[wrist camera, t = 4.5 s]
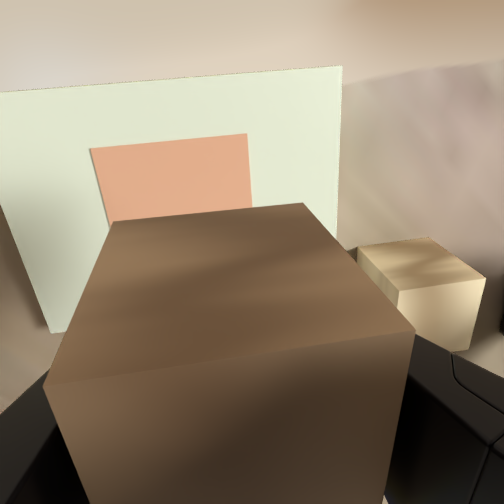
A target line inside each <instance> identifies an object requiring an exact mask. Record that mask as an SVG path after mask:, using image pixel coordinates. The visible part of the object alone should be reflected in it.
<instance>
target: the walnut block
mask: <svg viewBox="0 0 504 504" xmlns="http://www.w3.org/2000/svg"><path fill="white" fill-rule="evenodd" d="M415 333H416V329H415V328H414V327H413V326H412V325H411V323H410V322H409V321H408V320H407V319H406V318H405V317H404V316H403V314H402V313H401V312H400V311H399V310H398V309H397V308H396V307H395V305H394V304H393V303H392V302H391V301H390V300H389V299H388V298H387V296H386V295H385V294H384V293H383V292H382V291H381V290H380V289H379V287H378V286H377V285H376V284H375V283H374V282H373V281H372V280H371V278H370V277H369V276H368V275H367V274H366V273H365V272H364V271H363V269H362V268H361V267H360V266H359V265H358V264H357V263H356V262H355V260H354V259H353V258H352V257H351V256H350V255H349V254H348V253H347V251H346V250H345V249H344V248H343V247H342V246H341V245H340V244H339V242H338V241H337V240H336V239H335V238H334V237H333V236H332V235H331V233H330V232H329V231H328V230H327V229H326V228H325V227H324V226H323V224H322V223H321V222H320V221H319V220H318V219H317V218H316V217H315V215H314V214H313V213H312V212H311V211H310V210H309V209H308V207H307V206H306V205H305V204H304V203H303V202H302V203H292V204H282V205H272V206H262V207H252V208H242V209H232V210H222V211H212V212H202V213H192V214H182V215H172V216H162V217H152V218H142V219H132V220H122V221H113V223H112V225H111V228H110V230H109V232H108V235H107V237H106V239H105V242H104V244H103V246H102V249H101V251H100V253H99V256H98V258H97V260H96V263H95V265H94V267H93V270H92V272H91V274H90V277H89V279H88V281H87V284H86V286H85V288H84V291H83V293H82V295H81V298H80V300H79V302H78V305H77V307H76V309H75V312H74V314H73V316H72V319H71V321H70V323H69V326H68V328H67V330H66V333H65V335H64V338H63V340H62V342H61V345H60V347H59V349H58V352H57V354H56V356H55V359H54V361H53V363H52V366H51V368H50V370H49V373H48V375H47V377H46V380H45V382H44V384H43V389H44V391H45V394H46V396H47V399H48V401H49V404H50V406H51V409H52V411H53V414H54V416H55V419H56V421H57V423H58V426H59V428H60V431H61V433H62V436H63V438H64V441H65V443H66V446H67V448H68V450H69V453H70V455H71V458H72V460H73V463H74V465H75V468H76V470H77V473H78V475H79V477H80V480H81V482H82V485H83V487H84V490H85V492H86V495H87V497H88V500H89V502H90V504H382V501H383V496H384V491H385V486H386V481H387V476H388V471H389V465H390V460H391V455H392V450H393V445H394V440H395V435H396V430H397V425H398V420H399V414H400V409H401V404H402V399H403V394H404V389H405V384H406V379H407V374H408V368H409V363H410V358H411V353H412V348H413V343H414V338H415Z"/></svg>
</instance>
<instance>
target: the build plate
mask: <svg viewBox="0 0 504 504" xmlns="http://www.w3.org/2000/svg"><path fill="white" fill-rule="evenodd" d="M341 94H342V66H325V67H312V68H299V69H287V70H274V71H261V72H248V73H236V74H223V75H211V76H198V77H186V78H173V79H160V80H147V81H135V82H122V83H108V84H96V85H84V86H70V87H58V88H45V89H32V90H19V91H7V92H0V204H1V207H2V209H3V212H4V215H5V217H6V220H7V222H8V225H9V227H10V230H11V233H12V235H13V238H14V240H15V243H16V245H17V248H18V250H19V253H20V256H21V258H22V261H23V263H24V266H25V268H26V271H27V274H28V276H29V279H30V281H31V284H32V286H33V289H34V291H35V294H36V297H37V299H38V302H39V304H40V307H41V309H42V312H43V314H44V317H45V320H46V322H47V325H48V327H49V330H50V332H51V334H53V333H59V332H66V330H67V328H68V326H69V323H70V321H71V319H72V316H73V314H74V312H75V309H76V307H77V305H78V302H79V300H80V298H81V295H82V293H83V291H84V288H85V286H86V284H87V281H88V279H89V277H90V274H91V272H92V270H93V267H94V265H95V263H96V260H97V258H98V256H99V253H100V251H101V249H102V246H103V244H104V242H105V239H106V237H107V235H108V232H109V230H110V228H111V225H112V223H113V221H122V220H132V219H142V218H152V217H162V216H172V215H182V214H192V213H202V212H212V211H222V210H232V209H242V208H252V207H262V206H272V205H282V204H292V203H302V202H303V203H304V204H305V205H306V206H307V207H308V209H309V210H310V211H311V212H312V213H313V214H314V215H315V217H316V218H317V219H318V220H319V221H320V222H321V223H322V224H323V226H324V227H325V228H326V229H327V230H328V231H329V232H330V233H331V235H332V236H333V237H334V238H335V239H336V228H337V202H338V175H339V148H340V121H341Z"/></svg>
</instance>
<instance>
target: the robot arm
mask: <svg viewBox="0 0 504 504" xmlns="http://www.w3.org/2000/svg"><path fill="white" fill-rule="evenodd" d="M499 331H500V333H501V334H502V335H504V315H503V319H502V322H501V326H500V329H499ZM49 370H50V369H49ZM49 370H48V371H47V372H46V373H45V374H43V375H42V376H41V377H40V378H39V379H38V380H37V381H36V382H35V383H34V384H33V385H32V386H30V387H29V388H28V389H27V390H26V391H25V392H24V393H23V394H22V395H21V396H20V397H19V398H18V399H16V400H15V401H14V402H13V403H12V404H11V405H10V406H9V407H8V408H7V409H6V410H5V411H3V412H2V413H1V414H0V504H90V502H89V500H88V497H87V495H86V492H85V490H84V487H83V485H82V482H81V480H80V477H79V475H78V473H77V470H76V468H75V465H74V463H73V460H72V458H71V455H70V453H69V450H68V448H67V446H66V443H65V441H64V438H63V436H62V433H61V431H60V428H59V426H58V423H57V421H56V419H55V416H54V414H53V411H52V409H51V406H50V404H49V401H48V399H47V396H46V394H45V391H44V389H43V384H44V382H45V380H46V377H47V375H48V373H49ZM384 495H385V498H386V500H387V502H388V504H504V378H502V377H500V376H498V375H496V374H494V373H492V372H490V371H488V370H486V369H484V368H482V367H480V366H478V365H476V364H474V363H472V362H470V361H468V360H466V359H464V358H462V357H460V356H458V355H456V354H452V355H451V352H450V351H448V350H446V349H444V348H443V347H441V346H439V345H437V344H435V343H433V342H431V341H429V340H427V339H425V338H423V337H421V336H419V335H417V334H415V338H414V343H413V348H412V353H411V358H410V363H409V368H408V374H407V379H406V384H405V389H404V394H403V399H402V404H401V409H400V414H399V420H398V425H397V430H396V435H395V440H394V445H393V450H392V455H391V460H390V465H389V471H388V476H387V481H386V486H385V491H384Z"/></svg>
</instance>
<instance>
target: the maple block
mask: <svg viewBox="0 0 504 504" xmlns="http://www.w3.org/2000/svg"><path fill="white" fill-rule="evenodd" d="M357 264H358V265H359V266H360V267H361V268H362V269H363V271H364V272H365V273H366V274H367V275H368V276H369V277H370V278H371V280H372V281H373V282H374V283H375V284H376V285H377V286H378V287H379V289H380V290H381V291H382V292H383V293H384V294H385V295H386V296H387V298H388V299H389V300H390V301H391V302H392V303H393V304H394V305H395V307H396V308H397V309H398V310H399V311H400V312H401V313H402V314H403V316H404V317H405V318H406V319H407V320H408V321H409V322H410V323H411V325H412V326H413V327H414V328H415V329H416V333H415V334H417V335H419V336H421V337H423V338H425V339H427V340H429V341H431V342H433V343H435V344H437V345H439V346H441V347H443V348H444V349H446V350H448V351H450V352H456V351H462V350H468V349H469V345H470V341H471V337H472V333H473V329H474V325H475V321H476V317H477V313H478V310H479V306H480V302H481V298H482V294H483V290H484V286H485V282H486V278H485V277H484V276H483V275H481V274H480V273H478V272H477V271H475V270H474V269H473V268H471V267H470V266H468V265H467V264H466V263H464V262H463V261H461V260H460V259H459V258H457V257H456V256H454V255H453V254H451V253H450V252H449V251H447V250H446V249H444V248H443V247H442V246H440V245H439V244H437V243H436V242H435V241H433V240H432V239H430V238H429V237H427V238H420V239H412V240H405V241H397V242H390V243H383V244H375V245H368V246H360V247H358V248H357Z"/></svg>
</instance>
